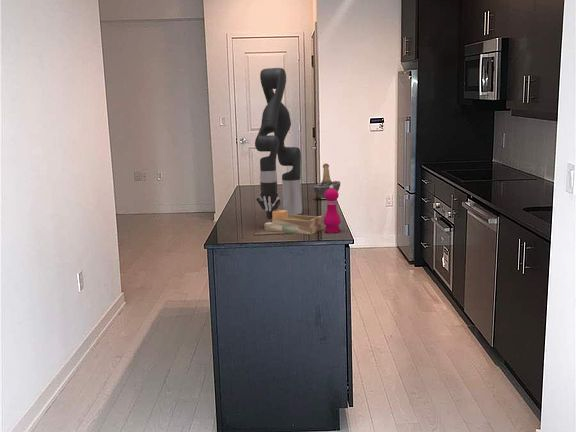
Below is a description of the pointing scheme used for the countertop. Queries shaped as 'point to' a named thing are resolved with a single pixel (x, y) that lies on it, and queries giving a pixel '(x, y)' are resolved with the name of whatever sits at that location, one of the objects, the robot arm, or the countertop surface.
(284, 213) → the block
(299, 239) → the countertop surface
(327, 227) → the pepper mill
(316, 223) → the cream tray
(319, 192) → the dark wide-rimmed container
